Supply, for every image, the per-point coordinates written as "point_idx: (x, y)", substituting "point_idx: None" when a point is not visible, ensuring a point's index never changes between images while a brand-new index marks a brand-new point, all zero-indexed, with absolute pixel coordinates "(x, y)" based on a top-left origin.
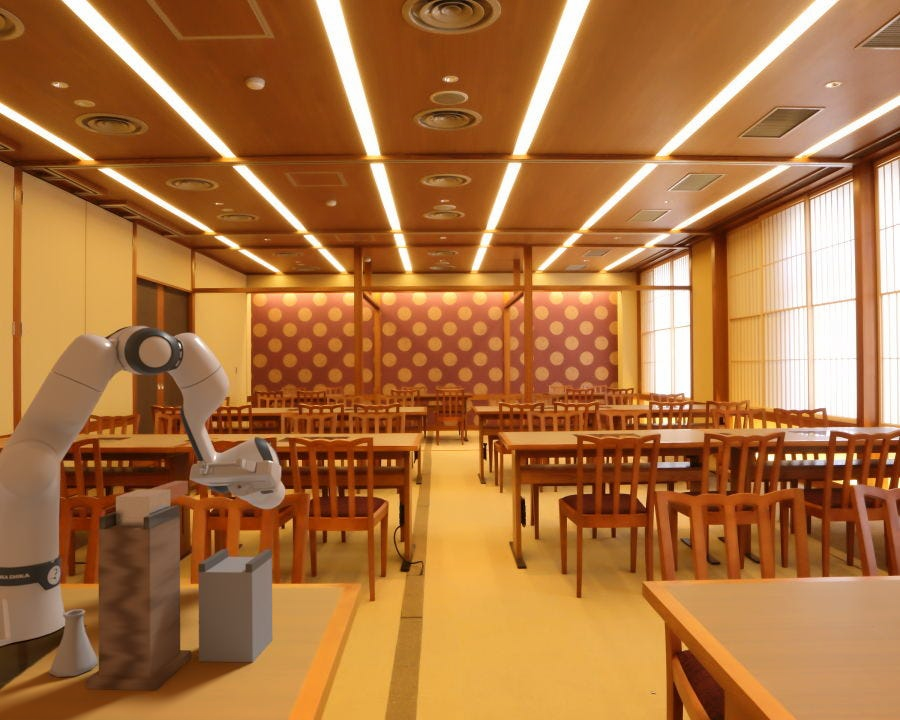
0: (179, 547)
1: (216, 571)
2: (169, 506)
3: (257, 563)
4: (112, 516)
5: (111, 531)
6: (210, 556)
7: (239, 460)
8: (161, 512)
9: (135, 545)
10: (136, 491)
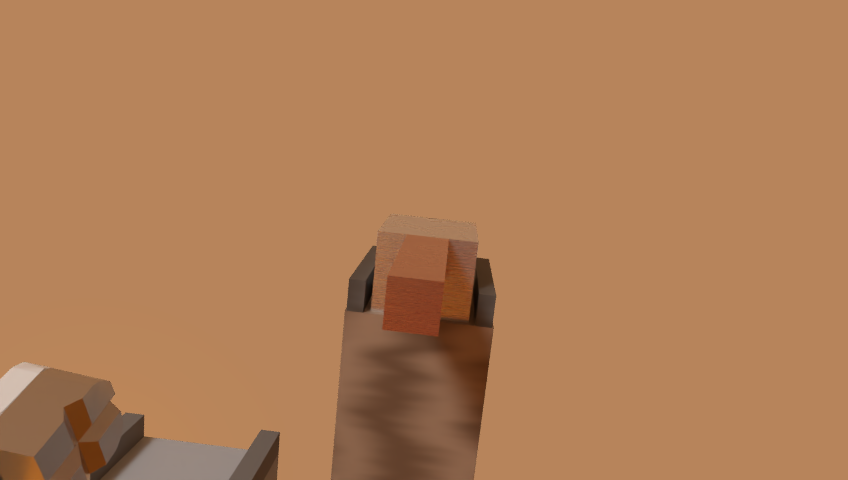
0: (338, 394)
1: (226, 450)
2: (374, 278)
3: None
4: (475, 268)
5: None
6: (254, 475)
7: (72, 375)
8: (365, 257)
9: None
10: (466, 235)
